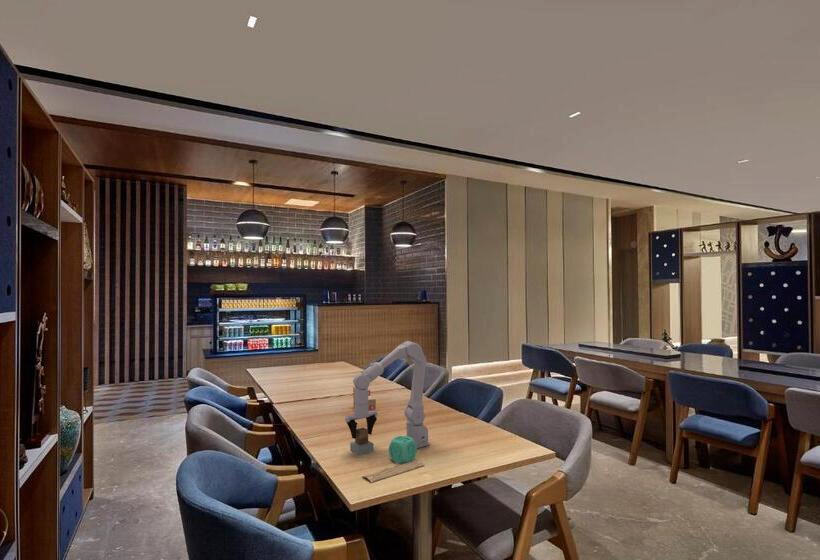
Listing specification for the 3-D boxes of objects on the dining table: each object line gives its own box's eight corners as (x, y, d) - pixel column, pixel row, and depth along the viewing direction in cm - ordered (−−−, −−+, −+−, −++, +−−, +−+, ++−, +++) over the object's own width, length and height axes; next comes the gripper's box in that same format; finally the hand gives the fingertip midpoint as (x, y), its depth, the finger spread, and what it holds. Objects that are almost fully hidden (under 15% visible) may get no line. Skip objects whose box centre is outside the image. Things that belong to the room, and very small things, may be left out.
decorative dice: (401, 454, 172) (401, 434, 172) (417, 459, 167) (417, 438, 167) (388, 460, 166) (388, 439, 166) (404, 465, 161) (403, 443, 161)
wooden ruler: (371, 485, 146) (370, 480, 146) (360, 478, 151) (360, 473, 151) (424, 468, 160) (424, 463, 160) (413, 462, 165) (412, 457, 166)
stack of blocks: (375, 416, 228) (375, 393, 229) (364, 417, 226) (364, 394, 226) (363, 407, 248) (363, 385, 248) (353, 408, 245) (353, 386, 246)
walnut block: (368, 443, 177) (368, 429, 177) (359, 445, 174) (359, 431, 175) (363, 440, 180) (363, 427, 180) (355, 442, 178) (354, 429, 178)
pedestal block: (373, 451, 176) (373, 443, 177) (359, 455, 172) (358, 446, 172) (364, 447, 182) (364, 438, 182) (350, 450, 178) (350, 442, 178)
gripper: (370, 398, 185) (371, 430, 185) (341, 404, 176) (341, 437, 176) (380, 401, 180) (380, 434, 179) (350, 407, 171) (350, 441, 170)
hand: (361, 436), depth 177 cm, fingers open, 7 cm apart
